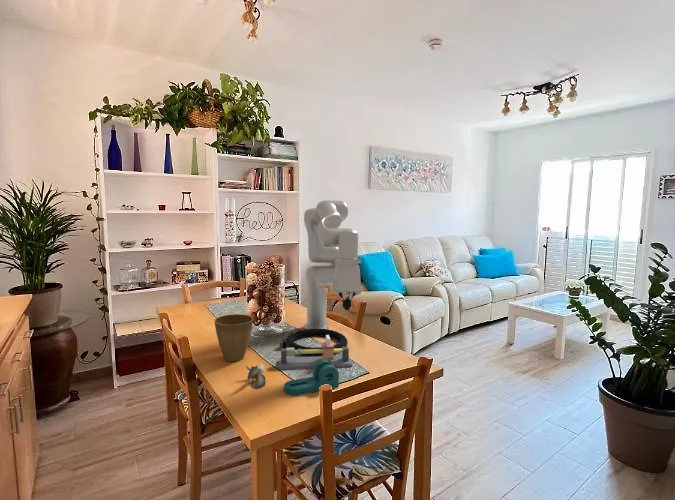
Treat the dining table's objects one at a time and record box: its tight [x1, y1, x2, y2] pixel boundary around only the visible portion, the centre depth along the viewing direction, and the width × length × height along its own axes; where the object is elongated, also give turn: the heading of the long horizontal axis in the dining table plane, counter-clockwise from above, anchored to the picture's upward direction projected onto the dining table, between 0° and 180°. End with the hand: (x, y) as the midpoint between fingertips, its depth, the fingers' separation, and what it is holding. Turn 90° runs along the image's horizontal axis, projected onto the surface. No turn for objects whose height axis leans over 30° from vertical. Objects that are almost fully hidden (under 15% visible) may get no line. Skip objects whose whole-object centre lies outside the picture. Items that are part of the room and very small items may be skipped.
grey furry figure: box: [245, 363, 266, 390], centre depth 130 cm, size 8×7×9 cm
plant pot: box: [213, 313, 254, 362], centre depth 150 cm, size 15×15×16 cm
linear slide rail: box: [278, 346, 353, 370], centre depth 147 cm, size 8×28×6 cm, turn 98°
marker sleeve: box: [321, 335, 335, 360], centre depth 147 cm, size 5×4×8 cm
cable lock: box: [279, 328, 348, 357], centre depth 167 cm, size 28×4×30 cm
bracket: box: [283, 360, 340, 397], centre depth 127 cm, size 18×7×8 cm, turn 114°
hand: (346, 309), depth 146 cm, fingers closed
